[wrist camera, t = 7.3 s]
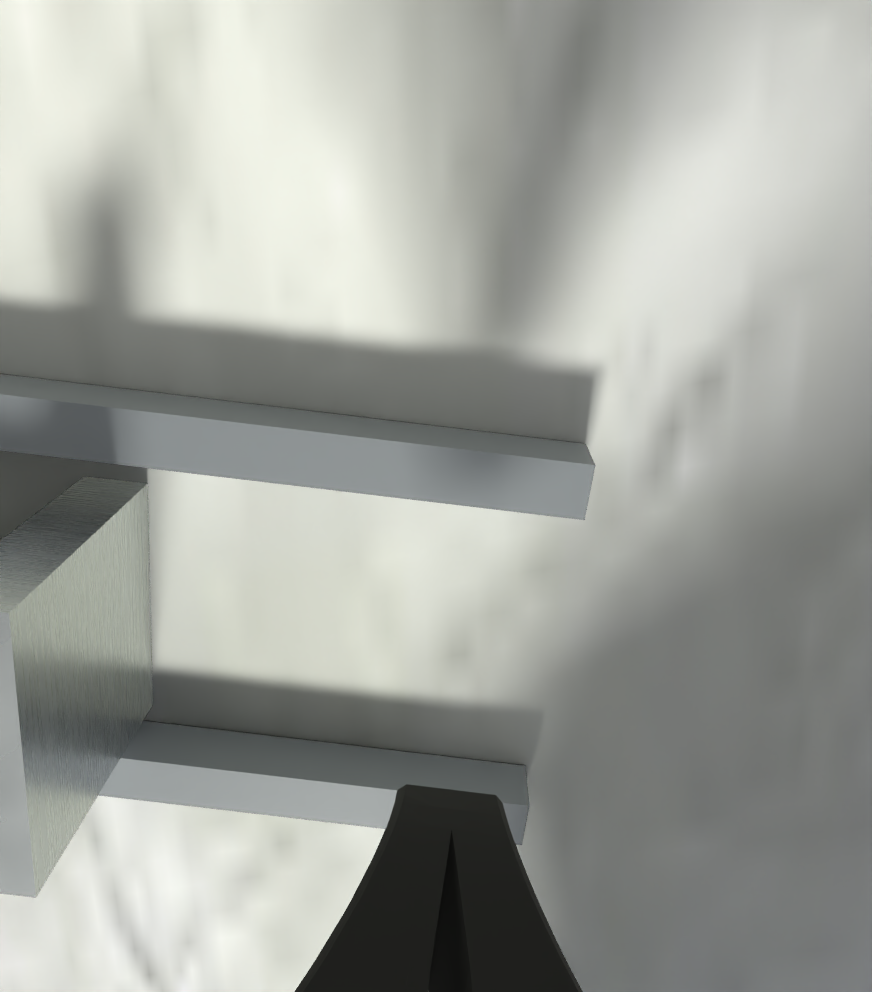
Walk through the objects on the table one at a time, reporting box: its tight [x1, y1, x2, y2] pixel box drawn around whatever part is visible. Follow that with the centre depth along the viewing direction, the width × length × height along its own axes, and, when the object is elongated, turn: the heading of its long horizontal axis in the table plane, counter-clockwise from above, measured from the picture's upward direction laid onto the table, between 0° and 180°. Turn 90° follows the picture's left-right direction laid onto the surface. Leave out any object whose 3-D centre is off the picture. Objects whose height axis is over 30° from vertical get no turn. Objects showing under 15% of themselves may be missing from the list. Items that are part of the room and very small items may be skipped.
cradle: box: [0, 374, 595, 845], centre depth 16 cm, size 16×8×1 cm, turn 84°
